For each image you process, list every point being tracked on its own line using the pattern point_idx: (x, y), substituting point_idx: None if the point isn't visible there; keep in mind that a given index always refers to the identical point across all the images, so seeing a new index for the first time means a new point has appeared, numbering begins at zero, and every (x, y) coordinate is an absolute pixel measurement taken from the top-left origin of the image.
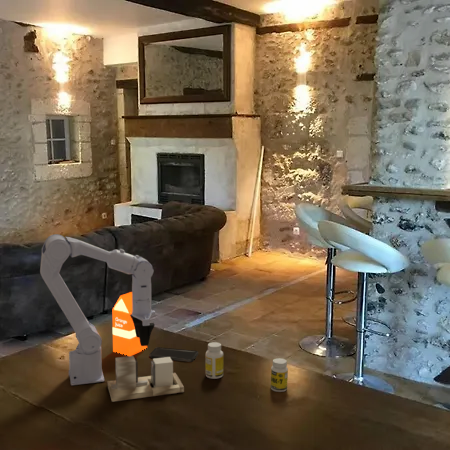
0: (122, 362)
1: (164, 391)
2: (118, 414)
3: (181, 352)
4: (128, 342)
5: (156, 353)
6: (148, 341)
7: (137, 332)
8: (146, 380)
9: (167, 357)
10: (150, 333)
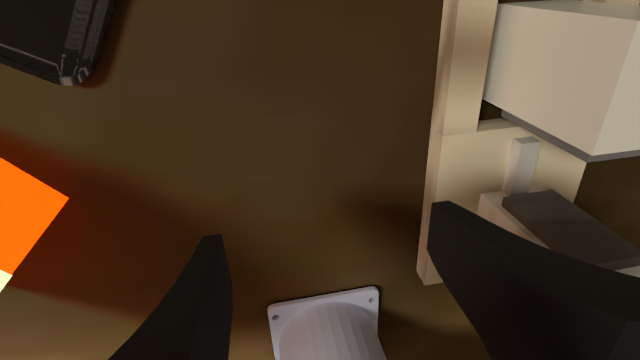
0: None
1: None
2: (626, 226)
3: None
4: (19, 262)
5: (26, 26)
6: (474, 217)
7: (227, 315)
8: (524, 145)
9: (636, 43)
10: (563, 258)
